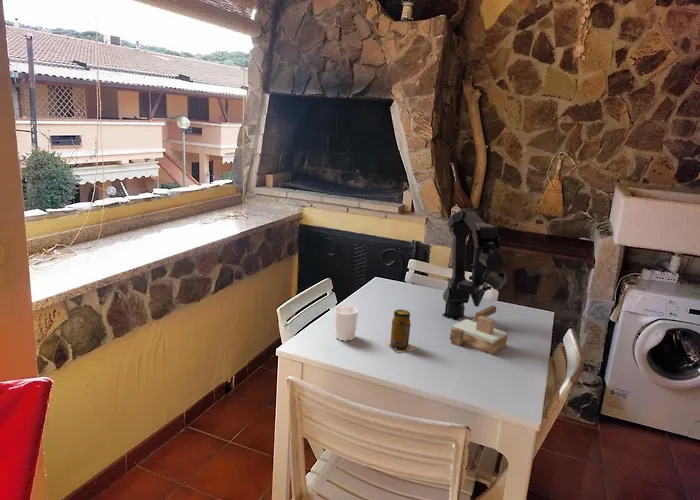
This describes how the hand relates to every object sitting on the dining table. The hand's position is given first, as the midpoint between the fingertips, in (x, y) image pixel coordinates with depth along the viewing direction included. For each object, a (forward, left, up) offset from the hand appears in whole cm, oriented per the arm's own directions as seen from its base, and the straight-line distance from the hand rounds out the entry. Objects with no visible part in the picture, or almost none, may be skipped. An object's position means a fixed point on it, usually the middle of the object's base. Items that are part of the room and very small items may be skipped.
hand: (476, 306), depth 178 cm
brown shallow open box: (+3, -1, -12) cm, 13 cm away
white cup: (-30, -33, -13) cm, 47 cm away
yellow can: (-13, -24, -13) cm, 30 cm away
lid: (+3, -1, -8) cm, 9 cm away
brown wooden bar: (-2, +11, -7) cm, 13 cm away
